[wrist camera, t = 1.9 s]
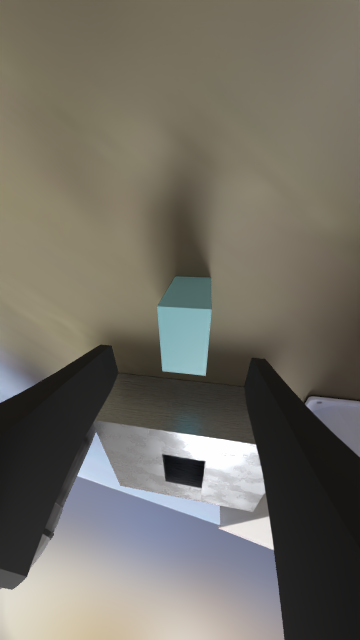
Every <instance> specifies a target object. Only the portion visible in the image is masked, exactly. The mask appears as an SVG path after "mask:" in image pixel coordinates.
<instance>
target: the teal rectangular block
mask: <svg viewBox="0 0 360 640" xmlns="http://www.w3.org/2000/svg"><path fill="white" fill-rule="evenodd" d="M157 310H158V323H159V335H160V347H161V360H162V371H166V372H176V373H185V374H194V375H204V376H206V366H207V355H208V344H209V333H210V322H211V310H212V305H211V278H208V277H178V276H175V278H174V279H173V281H172V283H171V284H170V286H169V288H168V289H167V291H166V293H165V294H164V296H163V298H162V299H161V301H160V303H159V304H158V306H157Z"/></svg>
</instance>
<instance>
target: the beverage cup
mask: <svg viewBox="0 0 360 640" xmlns="http://www.w3.org/2000/svg"><path fill="white" fill-rule="evenodd" d="M95 433H96V430H95V427H94V425H93V424H92V426H91V427H90V429H89V431H88V432H87V434H86V436H85V438H84V440H83V442H82V444H81V446H80V448H79V450H78V452H77V454H76V457H75V459H74V461H73V463H72V465H71V467H70V470H69V472H68V474H67V477H66V479H65V481H64V483H63V486H62V488H61V490H60V493H59V495H58V497H57V500H56V502H55V505H54V507H53V510H52V512H51V514H50V517H49V519H48V522H47V524H46V527H45V529H44V532H43V535H42V537H41V540H40V543H39V545H38V548H37V551H36V553H35V556H34V559H33V561H32V564H31V567H32V565H33V564H34V563H35V562H36V561H37V559H38V558H39V557H40V555H41V554H42V552H43V551H44V549H45V548H46V546H47V544H48V542H49V541H50V540H51V538H52V537H53V535H54V533H53V532H54V530H55V528H56V526H57V524H58V521H59V518H60V515H61V513H62V508H63V506H64V504H65V501H66V499H67V497H68V494H69V492H70V490H71V488H72V486H73V483H74V481H75V479H76V477H77V474H78V472H79V470H80V468H81V465H82V463H83V461H84V459H85V456H86V454H87V452H88V450H89V448H90V445H91V443H92V441H93V438H94V435H95ZM1 588H2V587H0V589H1Z"/></svg>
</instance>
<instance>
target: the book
mask: <svg viewBox="0 0 360 640" xmlns="http://www.w3.org/2000/svg"><path fill="white" fill-rule="evenodd" d="M218 528H219V529H222V530H224V531H227V532H229V533H232V534H235V535H237V536H240V537H242V538H245V539H247V540H250V541H252V542H255V543H257V544H260V545H262V546H265V547H267V548H270V549H272V550H274V547H273V539H272V532H271V526H270V519H269V512H268V505H267V499H266V492H265V493H264V495H263V496H262V498H261V499H260V501H259V503H258V504H257V506H256V508H255V509H254V511H253V512H250V511H245V510H240V509H235V508H230V507H225V506H220V525H218Z"/></svg>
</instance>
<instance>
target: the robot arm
mask: <svg viewBox="0 0 360 640" xmlns="http://www.w3.org/2000/svg"><path fill="white" fill-rule="evenodd" d="M117 376H118V369H117V365H116V362H115V358H114V354H113V350H112V346H109V345H99V346H98V347H96V348H94V349H93V350H91V351H89V352H88V353H86V354H85V355H83V356H81V357H80V358H78V359H77V360H75V361H74V362H72V363H70V364H69V365H67V366H66V367H64V368H62V369H61V370H59V371H58V372H56V373H54V374H52V375H51V376H49V377H47V378H46V379H44V380H42V381H41V382H39V383H37V384H35V385H34V386H32V387H30V388H28V389H26V390H25V391H23V392H21V393H19V394H17V395H15V396H13V397H11V398H9V399H7V400H5V401H3V402H1V403H0V587H2V588H7V589H14V588H15V587H17V586H18V585H19V584H20V583H21V582H22V581H23V580H24V579H25V578H26V577H27V575H28V572H29V570H30V567H31V564H32V561H33V559H34V556H35V553H36V551H37V548H38V545H39V543H40V540H41V537H42V535H43V532H44V529H45V527H46V524H47V522H48V519H49V517H50V514H51V512H52V510H53V507H54V505H55V502H56V500H57V497H58V495H59V493H60V490H61V488H62V486H63V483H64V481H65V479H66V477H67V474H68V472H69V470H70V467H71V465H72V463H73V461H74V459H75V457H76V454H77V452H78V450H79V448H80V446H81V444H82V442H83V440H84V438H85V436H86V434H87V432H88V431H89V429H90V427H91V426H92V424H93V422H94V420H95V419H96V417H97V415H98V413H99V412H100V410H101V408H102V406H103V405H104V403H105V401H106V399H107V398H108V396H109V394H110V392H111V390H112V388H113V386H114V383H115V381H116V378H117ZM244 388H245V397H246V404H247V410H248V414H249V419H250V423H251V427H252V431H253V435H254V439H255V443H256V447H257V451H258V455H259V460H260V464H261V469H262V474H263V480H264V486H265V492H266V499H267V505H268V512H269V519H270V526H271V532H272V539H273V547H274V554H275V562H276V570H277V578H278V585H279V595H280V603H281V611H282V620H283V629H284V639H285V640H360V402H359V401H351V400H342V399H333V398H324V397H315V396H312V397H309V398H308V399H307V401H306V403H305V404H304V403H303V402H302V401H301V400H300V398H299V397H298V396H297V395H296V394H295V393H294V392H293V391H292V390H291V389H290V387H289V386H288V385H287V384H286V383H285V382H284V381H283V379H282V378H281V377H280V376H279V375H278V374H277V372H276V371H275V370H274V369H273V368H272V366H271V365H270V364H269V363H268V362H267V361H266V360H265V359H258V358H252V359H251V363H250V367H249V371H248V375H247V378H246V382H245V386H244Z"/></svg>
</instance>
